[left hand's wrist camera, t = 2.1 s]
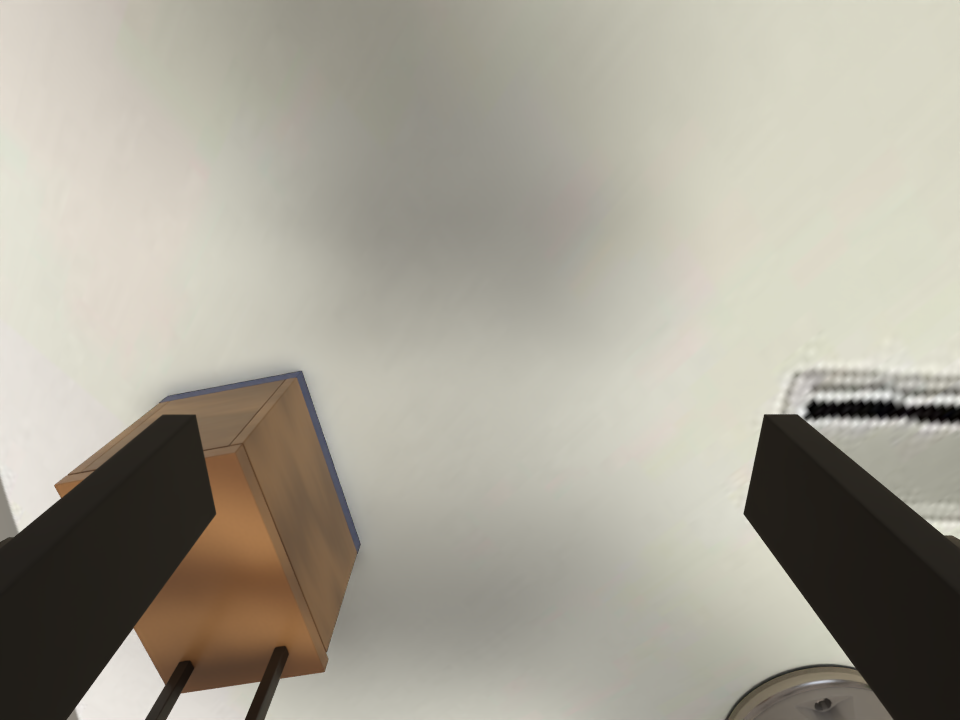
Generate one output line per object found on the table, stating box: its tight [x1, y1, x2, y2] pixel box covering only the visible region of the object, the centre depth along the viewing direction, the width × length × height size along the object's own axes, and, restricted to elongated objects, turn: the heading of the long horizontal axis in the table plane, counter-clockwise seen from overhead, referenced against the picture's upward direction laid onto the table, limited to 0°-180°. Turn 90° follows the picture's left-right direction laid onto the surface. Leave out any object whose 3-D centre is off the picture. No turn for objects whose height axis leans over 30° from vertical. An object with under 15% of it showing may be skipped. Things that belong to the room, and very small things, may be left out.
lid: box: [54, 444, 328, 720], centre depth 26 cm, size 15×10×9 cm, turn 11°
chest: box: [68, 371, 360, 652], centre depth 35 cm, size 15×10×10 cm, turn 11°
